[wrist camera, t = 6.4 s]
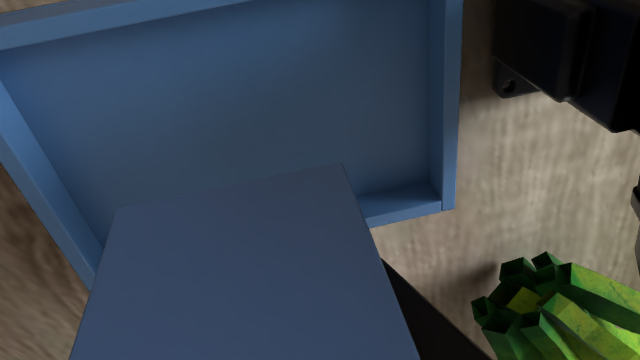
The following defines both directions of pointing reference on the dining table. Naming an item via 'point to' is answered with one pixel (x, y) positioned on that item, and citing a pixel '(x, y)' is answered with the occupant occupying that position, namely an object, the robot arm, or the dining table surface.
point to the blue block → (245, 277)
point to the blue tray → (225, 104)
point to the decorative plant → (559, 313)
